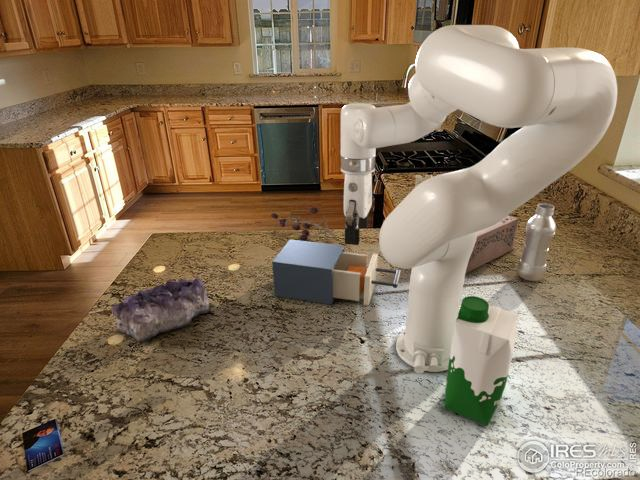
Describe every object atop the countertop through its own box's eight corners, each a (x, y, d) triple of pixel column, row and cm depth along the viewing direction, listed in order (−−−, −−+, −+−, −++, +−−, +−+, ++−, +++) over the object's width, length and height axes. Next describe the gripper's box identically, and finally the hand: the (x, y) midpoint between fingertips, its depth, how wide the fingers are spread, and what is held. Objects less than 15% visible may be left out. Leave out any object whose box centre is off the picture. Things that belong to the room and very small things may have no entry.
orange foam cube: (363, 292, 102) (363, 276, 100) (344, 290, 103) (345, 273, 101) (366, 283, 105) (367, 267, 103) (348, 280, 107) (349, 265, 105)
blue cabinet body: (343, 278, 112) (344, 245, 107) (331, 304, 101) (332, 269, 96) (291, 271, 115) (290, 239, 111) (274, 295, 104) (272, 261, 100)
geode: (196, 293, 106) (194, 259, 101) (218, 319, 99) (218, 284, 94) (110, 323, 94) (103, 286, 89) (128, 355, 86) (122, 317, 81)
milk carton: (452, 378, 79) (467, 286, 70) (503, 397, 74) (526, 301, 66) (437, 410, 72) (451, 312, 63) (492, 433, 68) (516, 332, 59)
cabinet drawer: (400, 284, 107) (402, 256, 103) (395, 309, 97) (397, 280, 94) (325, 274, 112) (325, 247, 108) (313, 297, 102) (312, 269, 99)
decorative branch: (267, 202, 144) (339, 202, 126) (281, 219, 150) (352, 221, 132) (251, 228, 139) (325, 232, 121) (266, 244, 145) (338, 251, 127)
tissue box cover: (457, 277, 111) (462, 243, 107) (415, 257, 122) (418, 225, 117) (511, 249, 125) (518, 218, 121) (470, 233, 136) (474, 204, 131)
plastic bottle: (546, 285, 107) (565, 212, 99) (518, 282, 109) (534, 210, 100) (540, 272, 113) (557, 202, 104) (513, 270, 114) (528, 200, 106)
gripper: (368, 175, 84) (365, 253, 91) (380, 154, 99) (377, 222, 106) (331, 173, 85) (331, 249, 93) (349, 153, 100) (348, 220, 108)
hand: (356, 235), depth 99 cm, fingers open, 9 cm apart
